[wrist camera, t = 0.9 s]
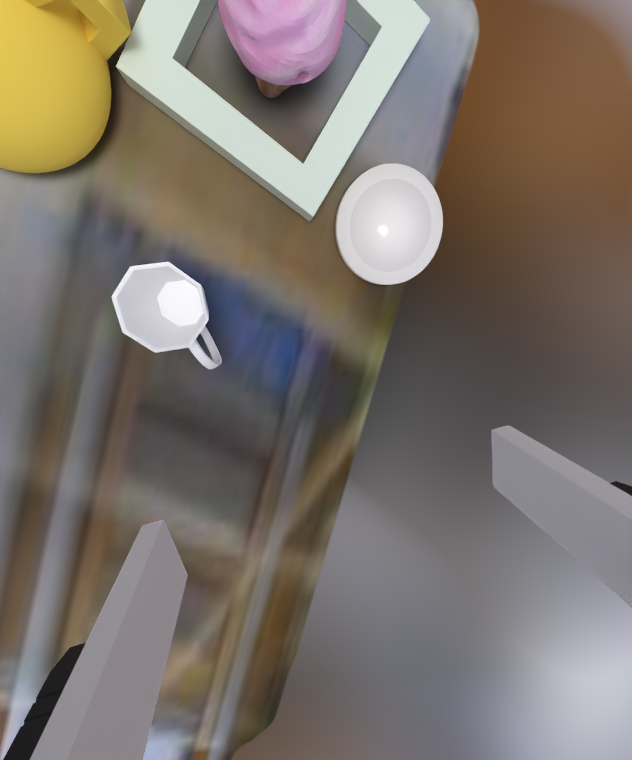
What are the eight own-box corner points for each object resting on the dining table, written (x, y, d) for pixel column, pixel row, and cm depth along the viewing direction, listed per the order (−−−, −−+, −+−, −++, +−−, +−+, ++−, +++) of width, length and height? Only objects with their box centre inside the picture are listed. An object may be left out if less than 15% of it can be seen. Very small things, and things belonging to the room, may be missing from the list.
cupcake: (207, 18, 26) (177, -130, 17) (304, -22, 27) (327, -189, 17) (255, 139, 29) (252, 70, 20) (342, 101, 30) (380, 16, 20)
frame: (128, 85, 27) (115, 66, 24) (237, -151, 24) (235, -198, 22) (309, 221, 32) (313, 216, 30) (416, 40, 29) (430, 19, 27)
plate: (313, 244, 33) (315, 242, 31) (375, 141, 31) (380, 135, 30) (396, 304, 36) (401, 305, 34) (456, 214, 34) (464, 211, 33)
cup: (193, 251, 31) (170, 241, 23) (251, 339, 34) (248, 355, 27) (130, 289, 31) (88, 291, 24) (194, 373, 34) (176, 399, 27)
